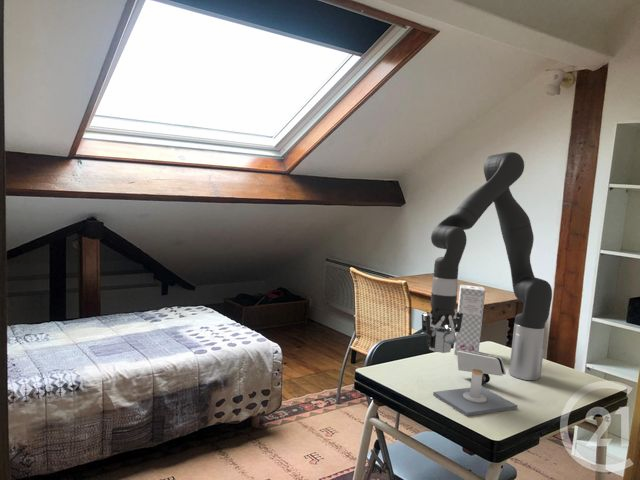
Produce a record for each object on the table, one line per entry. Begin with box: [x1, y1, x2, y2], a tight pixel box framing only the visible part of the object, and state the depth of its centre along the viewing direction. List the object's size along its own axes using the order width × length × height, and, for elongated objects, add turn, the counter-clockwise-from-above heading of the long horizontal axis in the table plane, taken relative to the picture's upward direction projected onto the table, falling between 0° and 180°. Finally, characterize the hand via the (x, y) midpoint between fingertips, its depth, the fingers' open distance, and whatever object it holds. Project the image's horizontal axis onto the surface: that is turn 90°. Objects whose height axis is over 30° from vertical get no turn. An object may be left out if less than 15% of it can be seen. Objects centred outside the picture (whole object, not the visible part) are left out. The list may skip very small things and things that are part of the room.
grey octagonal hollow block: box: [428, 326, 456, 354], centre depth 149 cm, size 6×8×6 cm
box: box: [453, 284, 486, 356], centre depth 186 cm, size 8×8×25 cm
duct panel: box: [432, 369, 518, 417], centre depth 139 cm, size 18×14×9 cm
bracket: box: [456, 350, 507, 386], centre depth 154 cm, size 4×10×15 cm
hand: (440, 346), depth 150 cm, fingers closed on grey octagonal hollow block, 6 cm apart
